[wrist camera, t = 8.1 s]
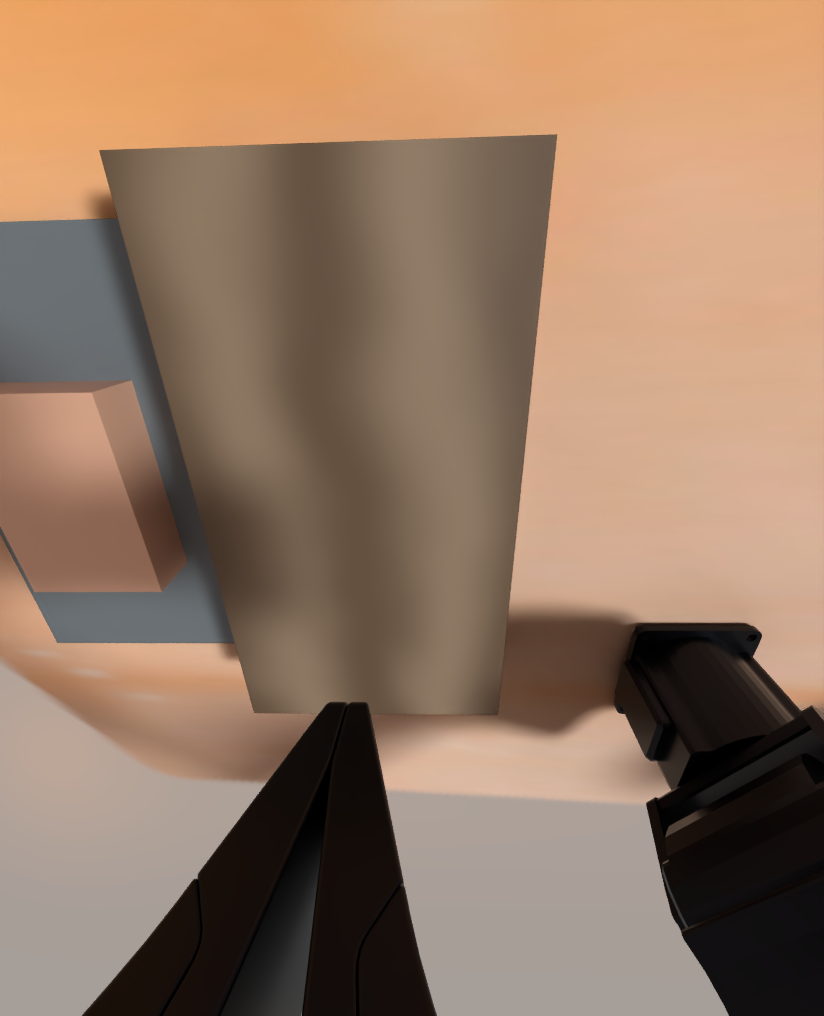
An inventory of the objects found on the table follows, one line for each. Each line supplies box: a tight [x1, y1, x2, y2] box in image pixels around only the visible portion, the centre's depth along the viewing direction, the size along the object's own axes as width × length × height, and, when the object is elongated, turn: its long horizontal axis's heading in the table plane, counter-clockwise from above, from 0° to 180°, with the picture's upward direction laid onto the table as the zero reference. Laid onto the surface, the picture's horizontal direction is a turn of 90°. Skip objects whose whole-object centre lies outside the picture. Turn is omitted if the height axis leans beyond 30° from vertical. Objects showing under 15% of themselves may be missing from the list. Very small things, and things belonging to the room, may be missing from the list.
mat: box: [0, 219, 235, 643], centre depth 20 cm, size 12×20×1 cm, turn 1°
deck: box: [99, 135, 557, 715], centre depth 18 cm, size 12×22×4 cm, turn 1°
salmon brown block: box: [0, 380, 187, 592], centre depth 19 cm, size 6×9×2 cm, turn 1°
